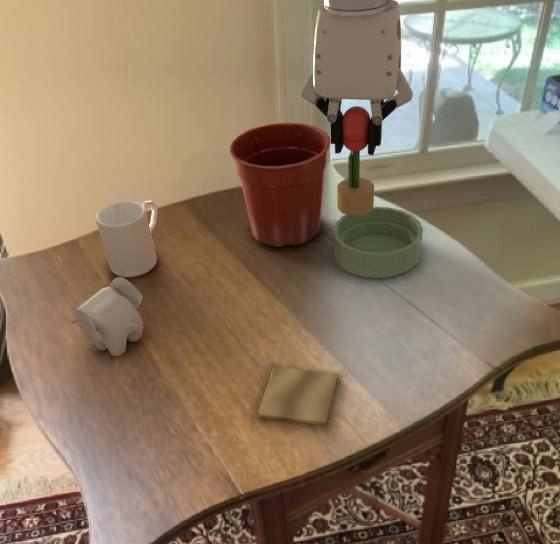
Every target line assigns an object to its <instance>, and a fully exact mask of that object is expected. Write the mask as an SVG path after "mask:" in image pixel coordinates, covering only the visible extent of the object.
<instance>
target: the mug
mask: <svg viewBox="0 0 560 544" xmlns="http://www.w3.org/2000/svg"><path fill="white" fill-rule="evenodd" d="M148 208H149V209H150V210H151V216H150V222H149V219H148V215H147V210H146V209H148ZM158 211H159V206H158V205H156V204H155V202H153V200H145V201H143V202H142V203H140V202H137V201H134V200H120V201H114V202H111V203H109V204H107V205H105V206H103V207H102V208H100V209H99V210H98V211H97V213H96V214H95V217H94V218H95V219H94V220H95V223H96V226H97V229H98V233H99V236H100V240H101V242H102V246H103V249H104V252H105V257H106V259H107V262H108V266H109V270H110V272H112V273H113V274H114V275H116V276H117V277H122V278H133V277H139V276H142V275H144V274H146V273H148V272H150V271H151V270H152V269H153V268H154V267H155V266H156V265H157V261H158V256H157V254H156V247H155V243H154V240H153V236H152V232H153V231H154V229H155V227H156V225H157V221H158Z"/></svg>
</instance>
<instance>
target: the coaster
mask: <svg viewBox="0 0 560 544" xmlns="http://www.w3.org/2000/svg"><path fill="white" fill-rule="evenodd" d="M338 379H339V373H334V372H325V371H315V370H309V369H299V368H291V367H290V368H289V367H281V366H273V368H272V371H271V373H270V376H269V380H268V383H267V385H266V388H265V391H264V393H263V397H262V399H261V403H260V406H259V409H258V411H257V417H258V418H265V419H271V420H279V421H288V422H295V423H303V424H309V425H317V426H327V423H328V419H329V415H330V411H331V407H332V403H333V399H334V395H335V392H336V391H335V390H336V387H337V383H338Z"/></svg>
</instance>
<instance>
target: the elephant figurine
mask: <svg viewBox="0 0 560 544" xmlns="http://www.w3.org/2000/svg"><path fill="white" fill-rule="evenodd" d="M142 301H143V294H142V293H141V292H140V291H139V290H138V289H137V288H136V287H135V286H134V285H133V284H132V283H131V282H130V281H128V280H127V279H126V277H122V276H117V277H115V278H114V279H112V281H111V282H110V284H109V286H105V287H103V288H101V289H100V290H98V291H97V292H96V293H95V294H94V295H92V296H91V297H90V298H88V299H87V300H86V301H85V302H84V303H82V304H80V305H79V306H78V307H77V308H76V309H74V312H75V317H76V318H75V319H74V320H71V321H70V324H76V323H78V326H79V328H80V329H81V332H82V334H83V336H84V337H89V339H90V341H91V342H92V343H93V345H94V346H95V347H96V349H98V350H100V351H106V350H108V352H109V353H110V355H112V357H120V356H122V355H123V354H125V352H126V350H127V341H129V342H137V341H139V340H140V339H141V338H142V336H143V332H144V322H143V320H142V317H141V315H140V313H139V312H138V311H137V309H138V308H139V306H141V305H142Z"/></svg>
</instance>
